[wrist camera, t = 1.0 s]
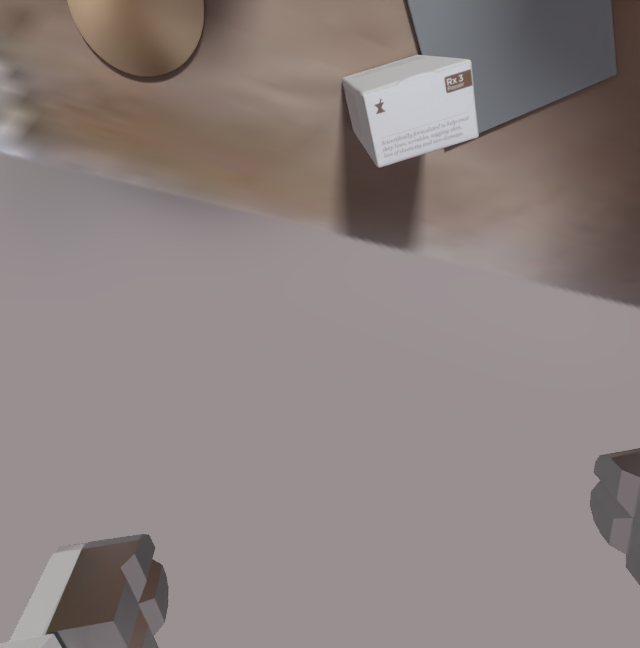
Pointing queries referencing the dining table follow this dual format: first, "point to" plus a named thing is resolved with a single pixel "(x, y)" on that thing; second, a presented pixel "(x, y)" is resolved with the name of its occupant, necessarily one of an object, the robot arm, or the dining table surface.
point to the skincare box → (412, 107)
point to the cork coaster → (140, 32)
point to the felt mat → (519, 48)
